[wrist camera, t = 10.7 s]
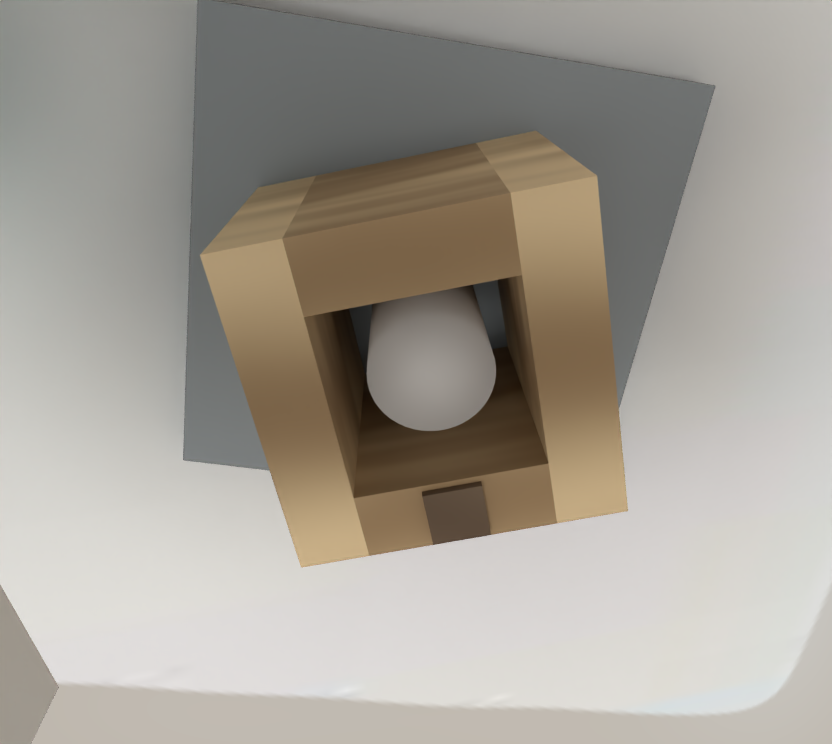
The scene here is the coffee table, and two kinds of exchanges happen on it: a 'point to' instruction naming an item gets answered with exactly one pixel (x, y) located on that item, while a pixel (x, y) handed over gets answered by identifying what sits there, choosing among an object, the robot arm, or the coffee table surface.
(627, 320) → the post base
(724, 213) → the coffee table surface
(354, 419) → the wooden square frame
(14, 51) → the coffee table surface
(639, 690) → the coffee table surface
